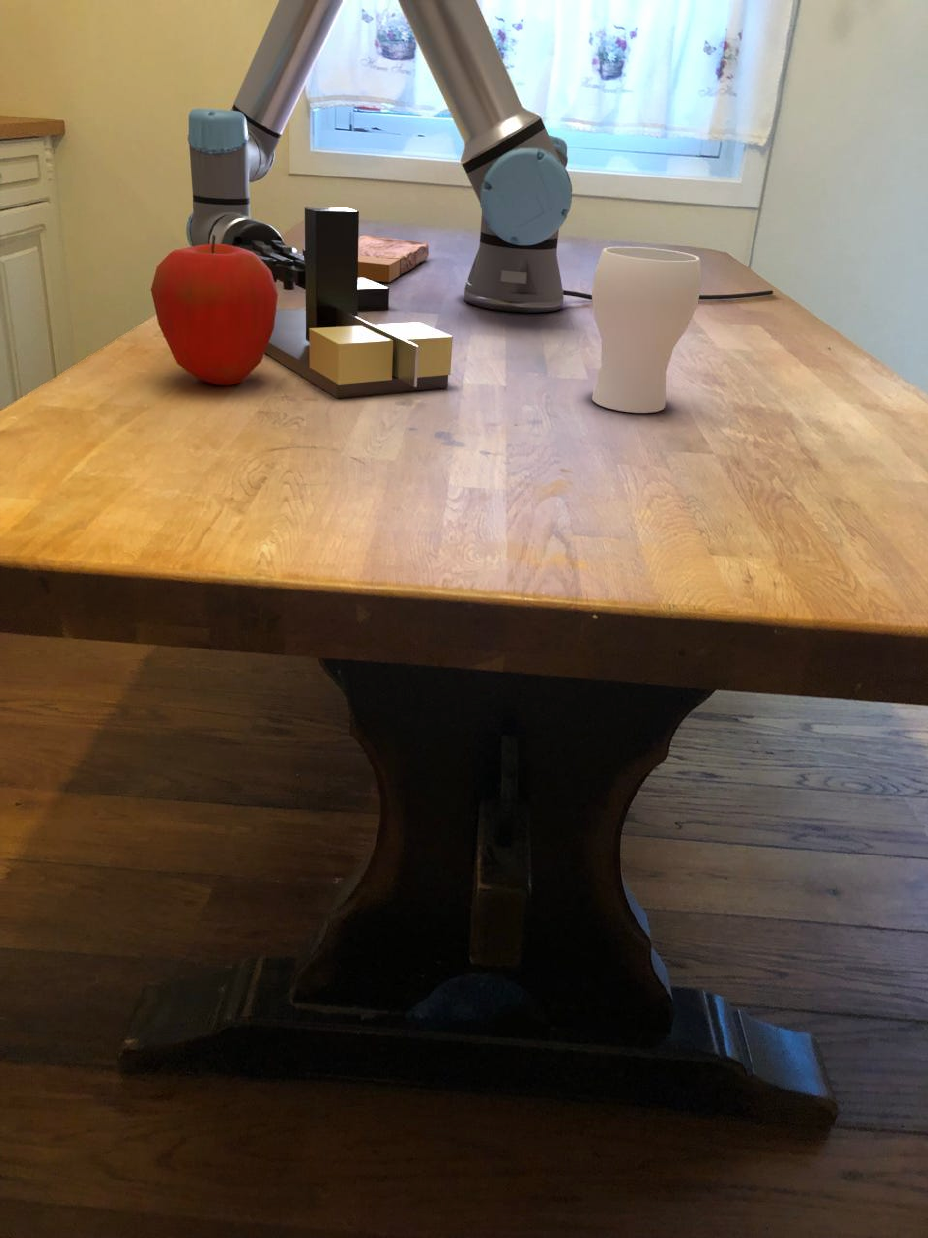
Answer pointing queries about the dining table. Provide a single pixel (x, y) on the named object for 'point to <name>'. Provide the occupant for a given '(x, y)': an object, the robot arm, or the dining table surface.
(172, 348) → the apple
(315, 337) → the butter
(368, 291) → the dark rectangular block
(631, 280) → the cup
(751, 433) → the dining table surface
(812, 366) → the dining table surface
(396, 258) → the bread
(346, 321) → the butter slicer
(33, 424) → the dining table surface
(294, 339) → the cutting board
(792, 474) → the dining table surface
